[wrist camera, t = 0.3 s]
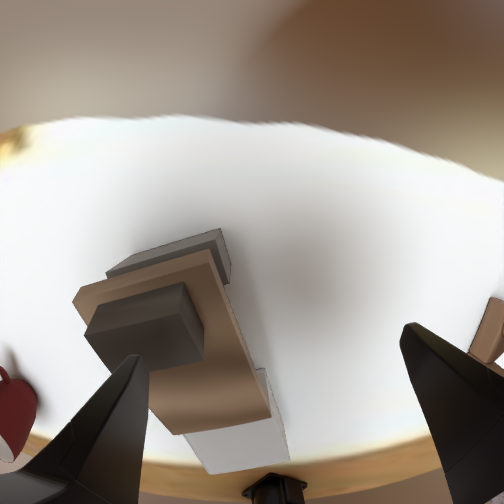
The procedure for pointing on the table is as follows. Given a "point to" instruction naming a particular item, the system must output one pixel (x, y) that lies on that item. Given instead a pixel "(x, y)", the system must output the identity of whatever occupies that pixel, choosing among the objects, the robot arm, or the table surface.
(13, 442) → the mug
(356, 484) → the table surface
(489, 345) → the wooden block
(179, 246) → the gray rectangular block
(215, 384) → the plank
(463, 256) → the table surface
